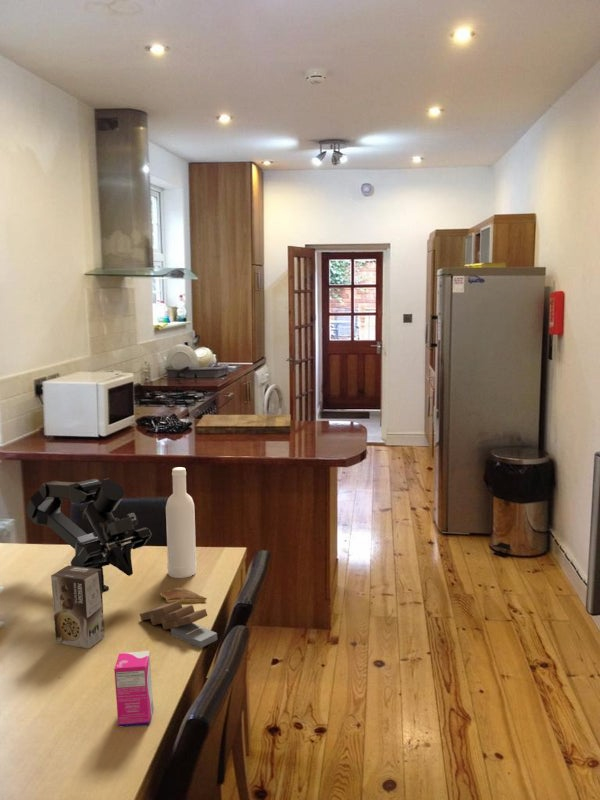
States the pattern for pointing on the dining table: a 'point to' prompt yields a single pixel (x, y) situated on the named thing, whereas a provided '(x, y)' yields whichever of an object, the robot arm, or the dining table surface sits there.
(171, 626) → the domino
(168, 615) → the domino
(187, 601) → the shard
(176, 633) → the domino
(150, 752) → the dining table surface
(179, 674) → the dining table surface
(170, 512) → the bottle
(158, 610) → the domino
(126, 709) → the supplement box
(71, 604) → the coffee box
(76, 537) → the robot arm
